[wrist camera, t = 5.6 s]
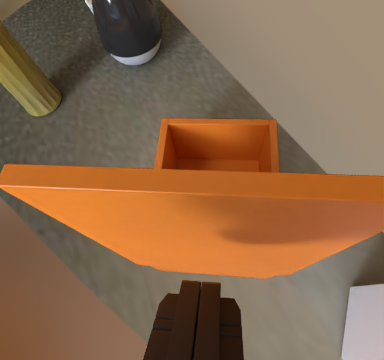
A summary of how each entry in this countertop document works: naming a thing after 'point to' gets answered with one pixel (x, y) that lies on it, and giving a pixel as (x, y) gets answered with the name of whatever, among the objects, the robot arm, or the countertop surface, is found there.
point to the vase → (25, 77)
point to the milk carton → (364, 324)
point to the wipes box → (218, 154)
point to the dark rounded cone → (128, 29)
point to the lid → (207, 213)
